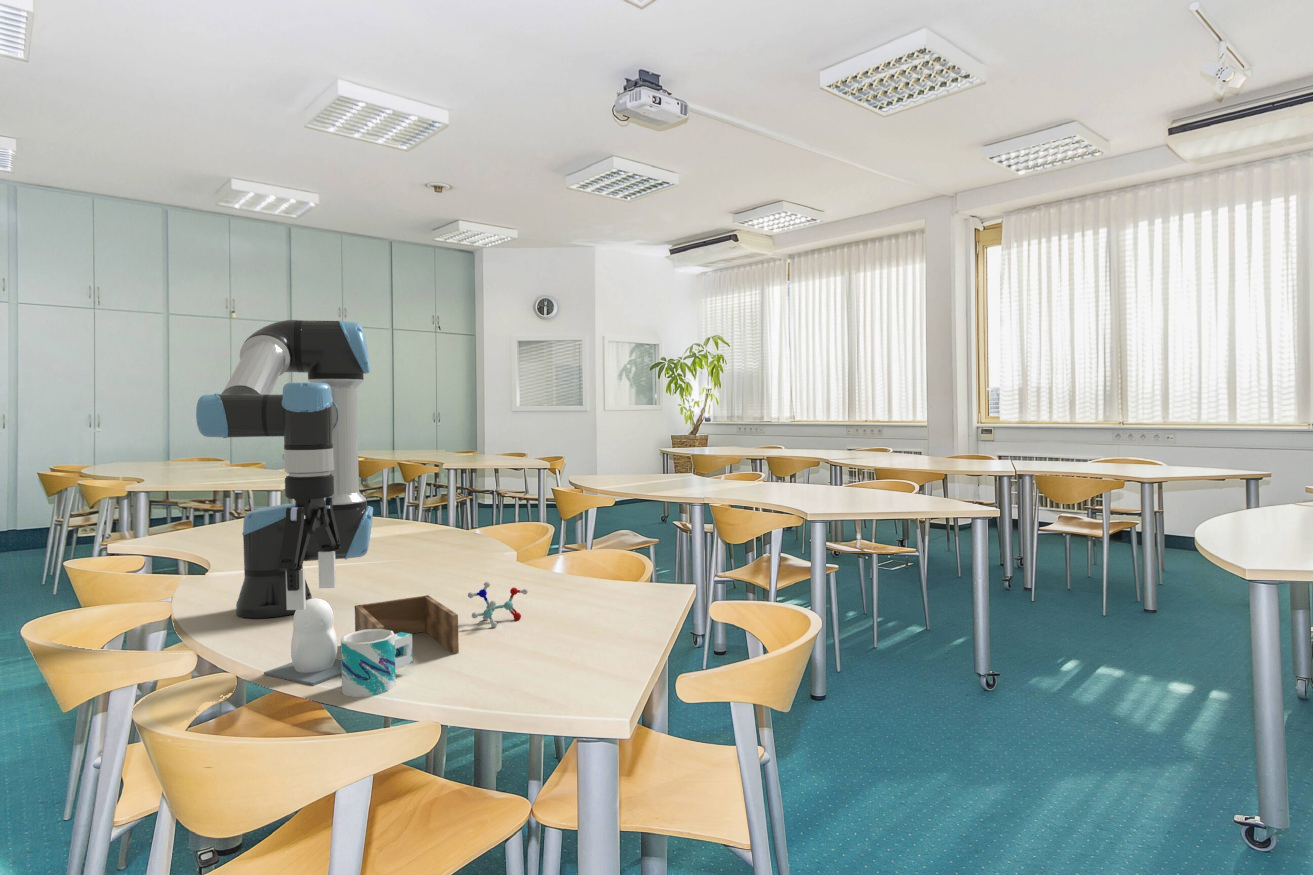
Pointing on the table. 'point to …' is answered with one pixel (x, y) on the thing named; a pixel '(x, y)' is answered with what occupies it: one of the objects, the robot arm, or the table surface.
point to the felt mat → (307, 678)
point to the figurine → (313, 637)
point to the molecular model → (491, 606)
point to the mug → (373, 660)
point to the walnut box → (411, 619)
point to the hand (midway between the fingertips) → (312, 598)
